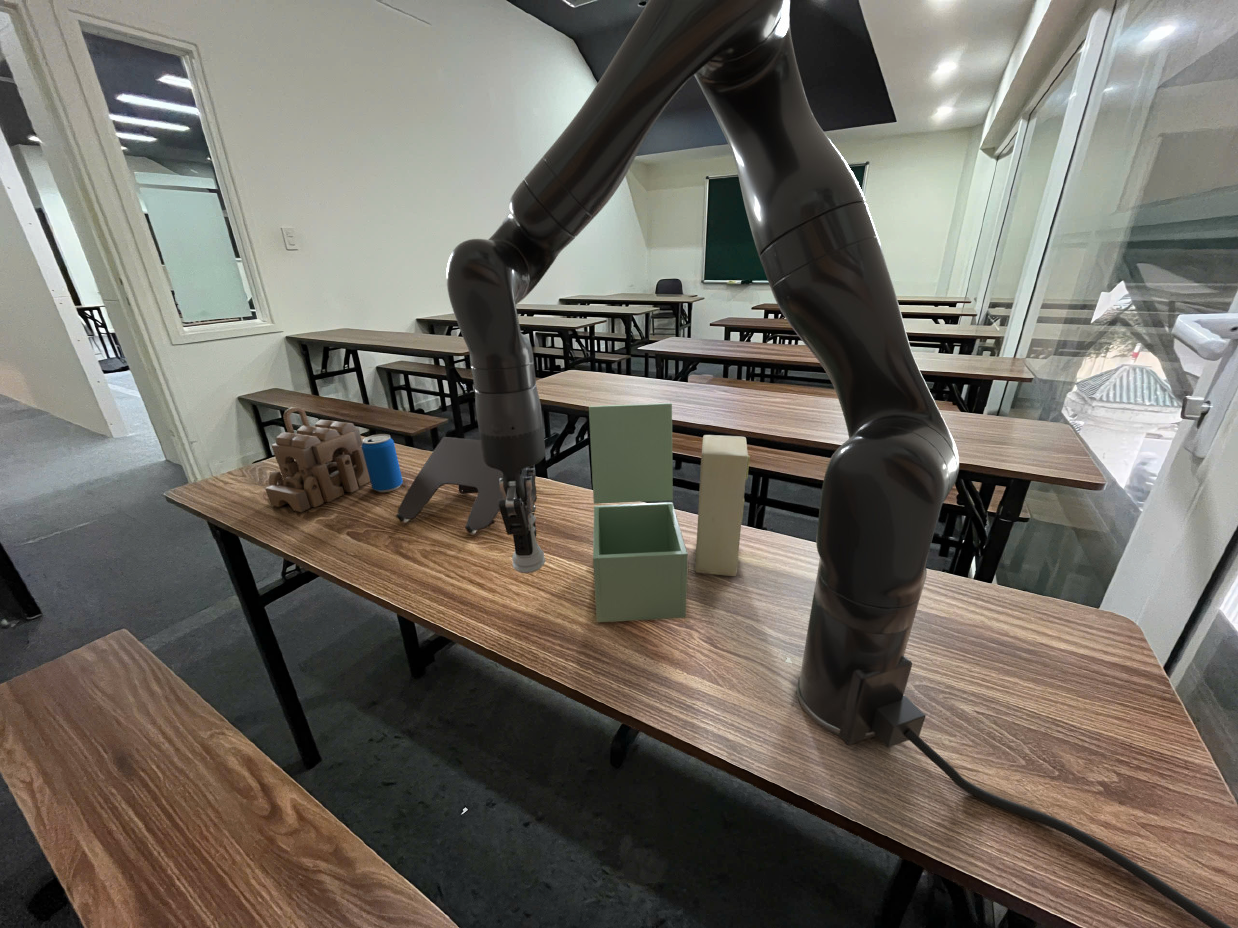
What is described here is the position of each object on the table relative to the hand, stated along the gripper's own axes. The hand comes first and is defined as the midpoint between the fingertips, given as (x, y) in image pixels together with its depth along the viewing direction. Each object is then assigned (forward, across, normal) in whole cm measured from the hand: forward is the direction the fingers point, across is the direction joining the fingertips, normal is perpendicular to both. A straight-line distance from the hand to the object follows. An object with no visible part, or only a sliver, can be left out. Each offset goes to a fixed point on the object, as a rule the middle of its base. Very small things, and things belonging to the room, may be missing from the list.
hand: (526, 545), depth 64 cm
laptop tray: (+12, +35, +18) cm, 41 cm away
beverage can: (+12, +46, +39) cm, 61 cm away
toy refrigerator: (+12, +11, -29) cm, 33 cm away
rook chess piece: (+3, 0, 0) cm, 3 cm away
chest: (+12, +5, -15) cm, 20 cm away
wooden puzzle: (+11, +48, +53) cm, 72 cm away
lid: (-7, +13, -15) cm, 21 cm away
